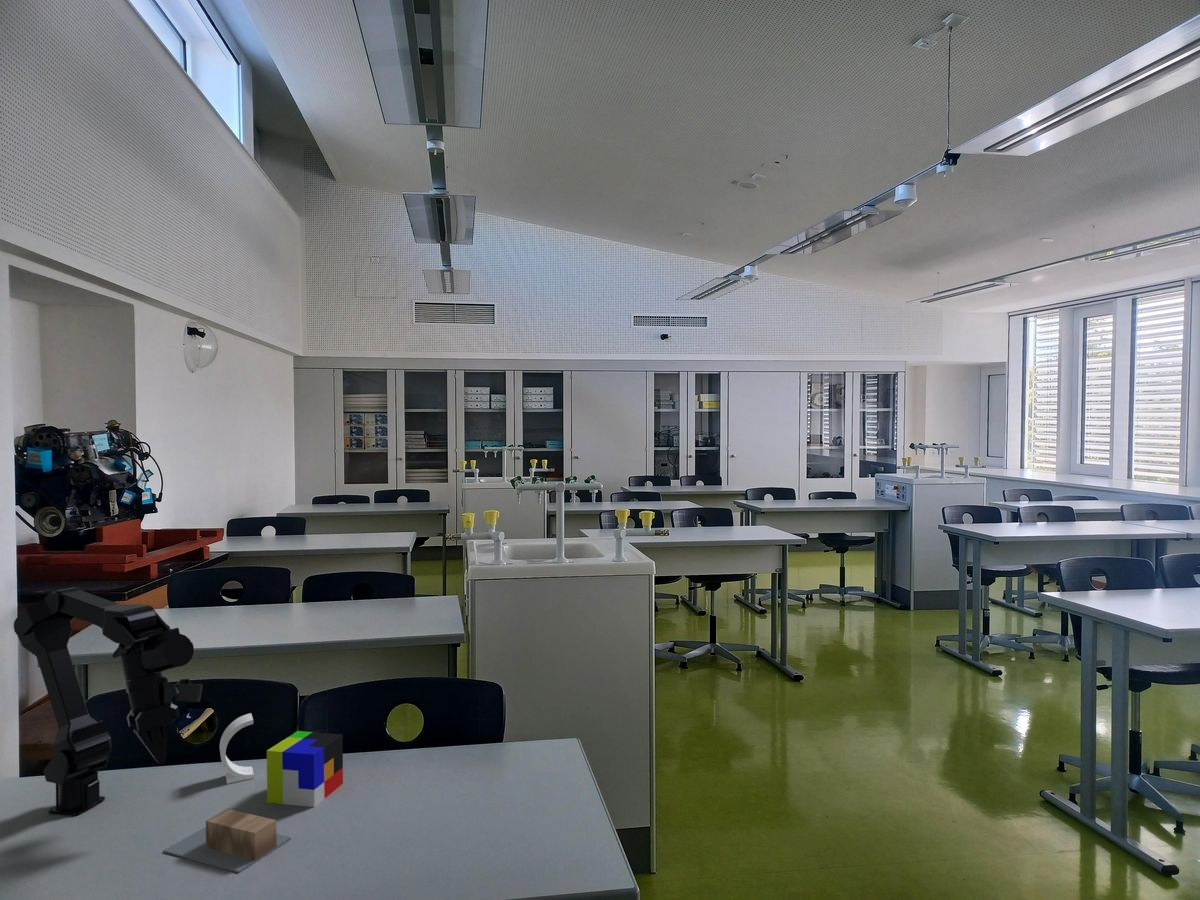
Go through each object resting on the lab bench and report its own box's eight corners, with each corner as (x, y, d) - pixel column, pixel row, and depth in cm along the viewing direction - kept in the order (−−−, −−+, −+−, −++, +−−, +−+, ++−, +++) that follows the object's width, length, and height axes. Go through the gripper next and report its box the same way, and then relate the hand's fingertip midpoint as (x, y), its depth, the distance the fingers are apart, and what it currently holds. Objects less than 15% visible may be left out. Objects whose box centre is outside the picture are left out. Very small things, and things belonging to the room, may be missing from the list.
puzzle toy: (314, 807, 140) (313, 754, 140) (267, 802, 142) (266, 750, 142) (343, 783, 150) (342, 734, 150) (298, 779, 152) (297, 731, 152)
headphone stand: (253, 778, 153) (253, 720, 153) (221, 785, 150) (220, 725, 150) (251, 770, 157) (251, 713, 157) (219, 776, 154) (219, 718, 154)
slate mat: (163, 852, 125) (163, 850, 125) (218, 821, 135) (218, 819, 135) (239, 872, 119) (238, 871, 119) (291, 838, 129) (291, 837, 129)
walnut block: (205, 820, 126) (254, 833, 122) (228, 808, 130) (276, 820, 126) (206, 847, 126) (255, 860, 122) (228, 834, 130) (276, 846, 126)
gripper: (202, 660, 132) (221, 748, 131) (185, 663, 147) (202, 742, 145) (129, 682, 125) (148, 775, 124) (119, 682, 140) (136, 765, 138)
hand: (162, 762), depth 133 cm, fingers closed
